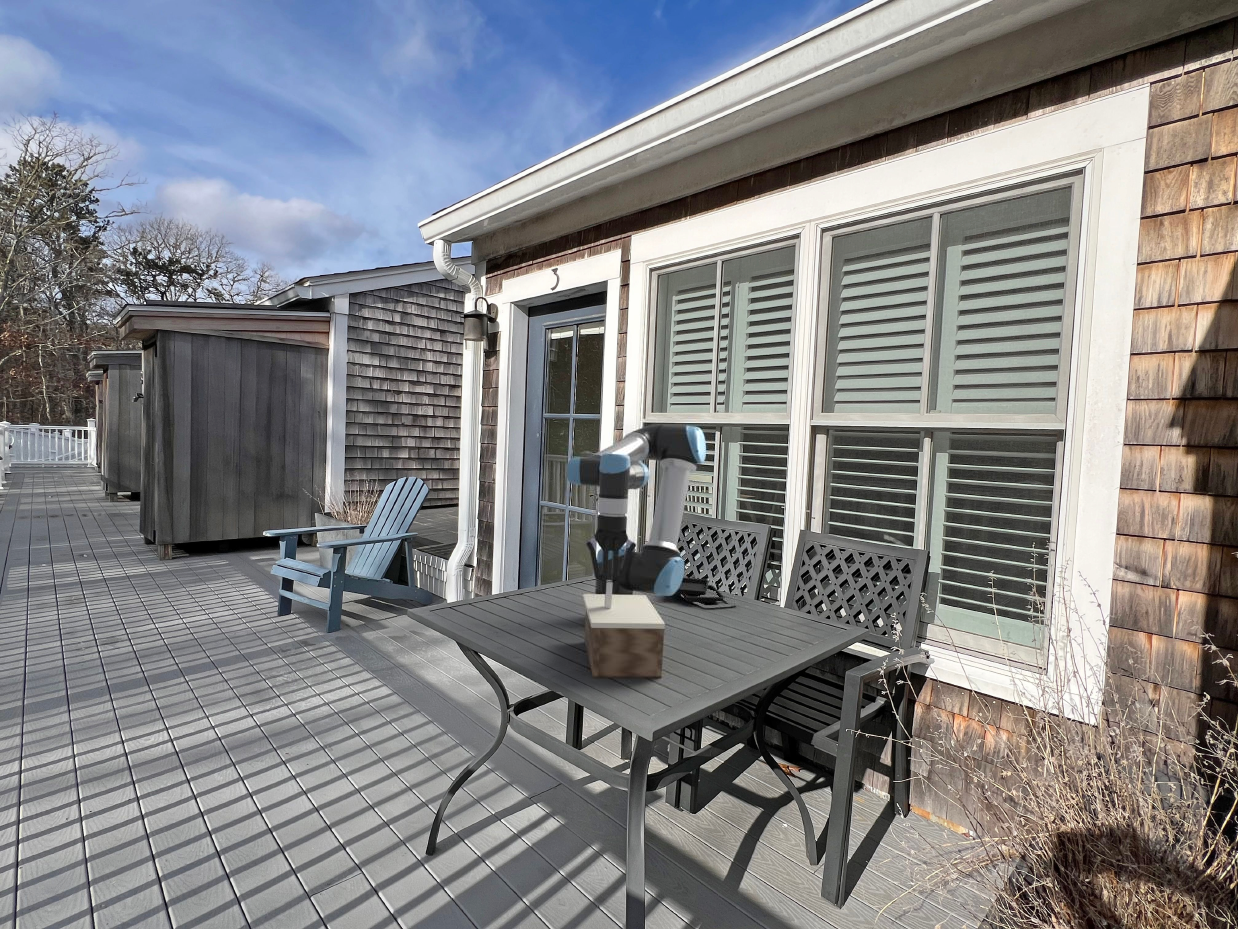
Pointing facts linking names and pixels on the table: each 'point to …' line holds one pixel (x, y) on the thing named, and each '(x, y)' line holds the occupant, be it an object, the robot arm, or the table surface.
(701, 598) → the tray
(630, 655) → the bin
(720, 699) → the table surface
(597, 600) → the lid
